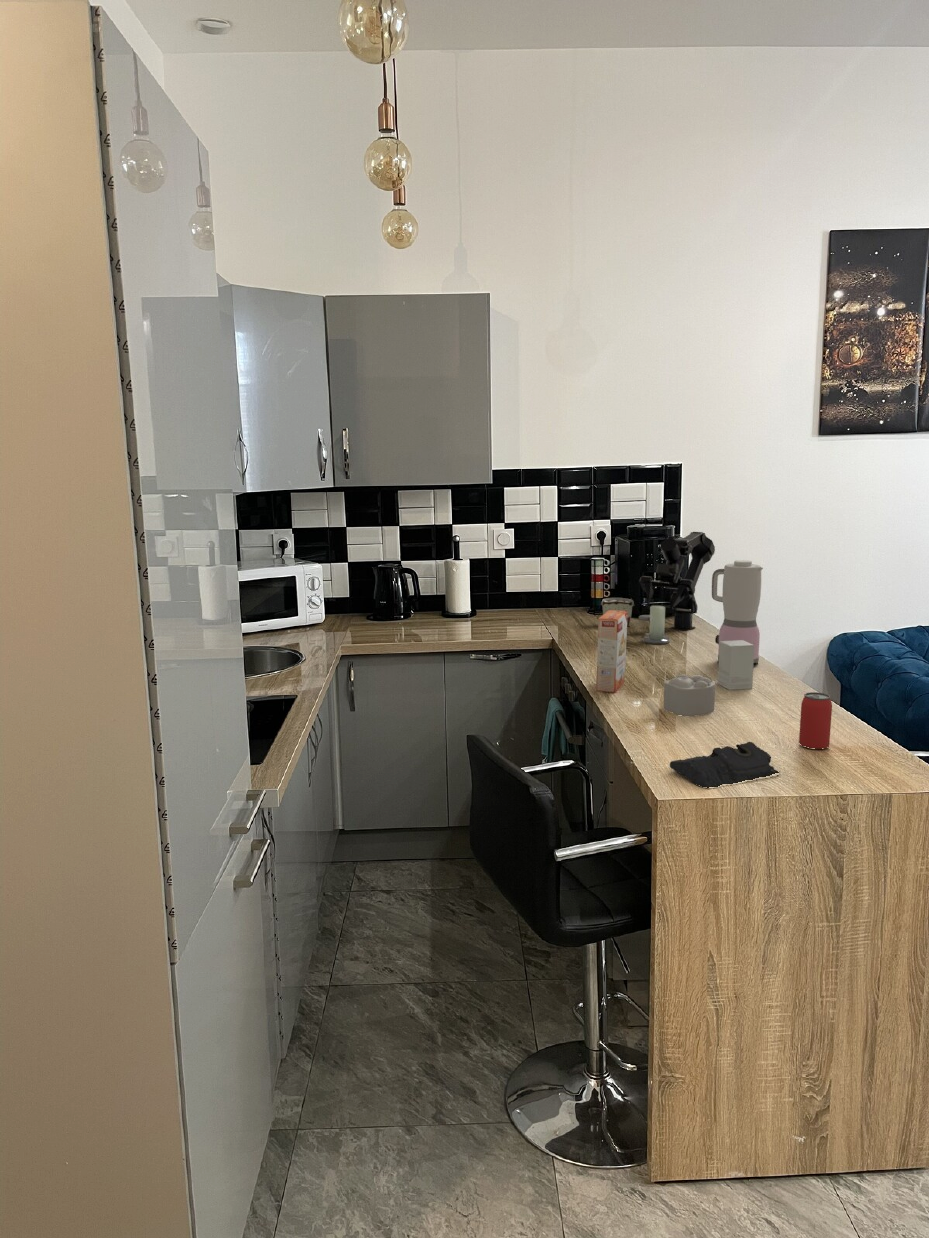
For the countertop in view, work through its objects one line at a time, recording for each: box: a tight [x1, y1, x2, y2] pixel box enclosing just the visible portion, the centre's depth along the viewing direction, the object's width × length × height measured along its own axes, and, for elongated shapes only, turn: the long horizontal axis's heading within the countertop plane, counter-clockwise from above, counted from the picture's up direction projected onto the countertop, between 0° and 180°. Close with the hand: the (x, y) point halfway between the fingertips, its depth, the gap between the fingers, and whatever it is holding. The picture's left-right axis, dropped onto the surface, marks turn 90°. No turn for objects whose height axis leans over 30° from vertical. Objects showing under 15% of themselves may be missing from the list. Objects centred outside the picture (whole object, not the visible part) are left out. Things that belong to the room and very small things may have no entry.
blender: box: [711, 559, 764, 665], centre depth 294 cm, size 16×12×32 cm
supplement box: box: [717, 640, 755, 691], centre depth 268 cm, size 7×7×13 cm
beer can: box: [798, 691, 833, 749], centre depth 216 cm, size 7×7×12 cm
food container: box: [600, 597, 635, 627], centre depth 355 cm, size 12×6×10 cm, turn 84°
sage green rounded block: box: [648, 605, 666, 640], centre depth 326 cm, size 5×5×11 cm
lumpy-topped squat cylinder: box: [663, 673, 716, 717], centre depth 246 cm, size 10×13×9 cm
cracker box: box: [595, 610, 628, 694], centre depth 267 cm, size 14×6×21 cm, turn 160°
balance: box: [638, 614, 671, 646], centre depth 334 cm, size 23×9×6 cm, turn 179°
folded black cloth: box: [669, 741, 780, 789], centre depth 201 cm, size 15×22×5 cm
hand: (660, 605), depth 327 cm, fingers open, 9 cm apart
